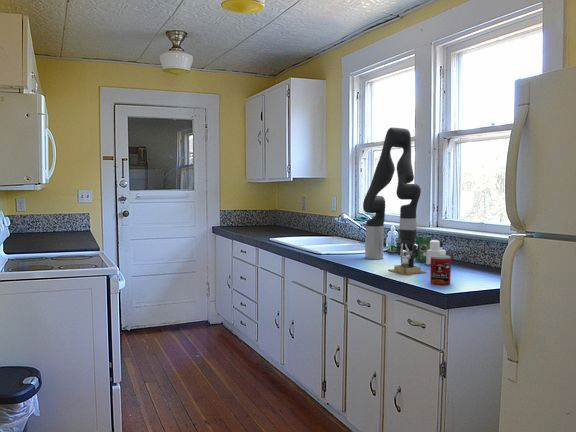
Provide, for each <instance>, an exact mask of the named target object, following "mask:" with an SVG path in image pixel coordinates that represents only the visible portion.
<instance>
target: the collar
mask: <svg viewBox="0 0 576 432" xmlns="http://www.w3.org/2000/svg"><path fill="white" fill-rule="evenodd" d="M393 267H394V268H389V269H388V272H392V273H396V274H398V275H404V276H407V275H420V274H427V273H428V272H427V271H424V270H422V267H421V266H418V265H415V264H414V266H413V267H409V268H405V267H402V265H401V264H396V265H393Z"/></svg>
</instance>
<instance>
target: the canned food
mask: <svg viewBox="0 0 576 432" xmlns="http://www.w3.org/2000/svg"><path fill="white" fill-rule="evenodd" d="M451 263H452V257H451V255H432V256H431V265H430V279H429V280H430V284H431V285H434V286H448V285H450V284H451V271H452V267H451V266H452V264H451Z"/></svg>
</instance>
